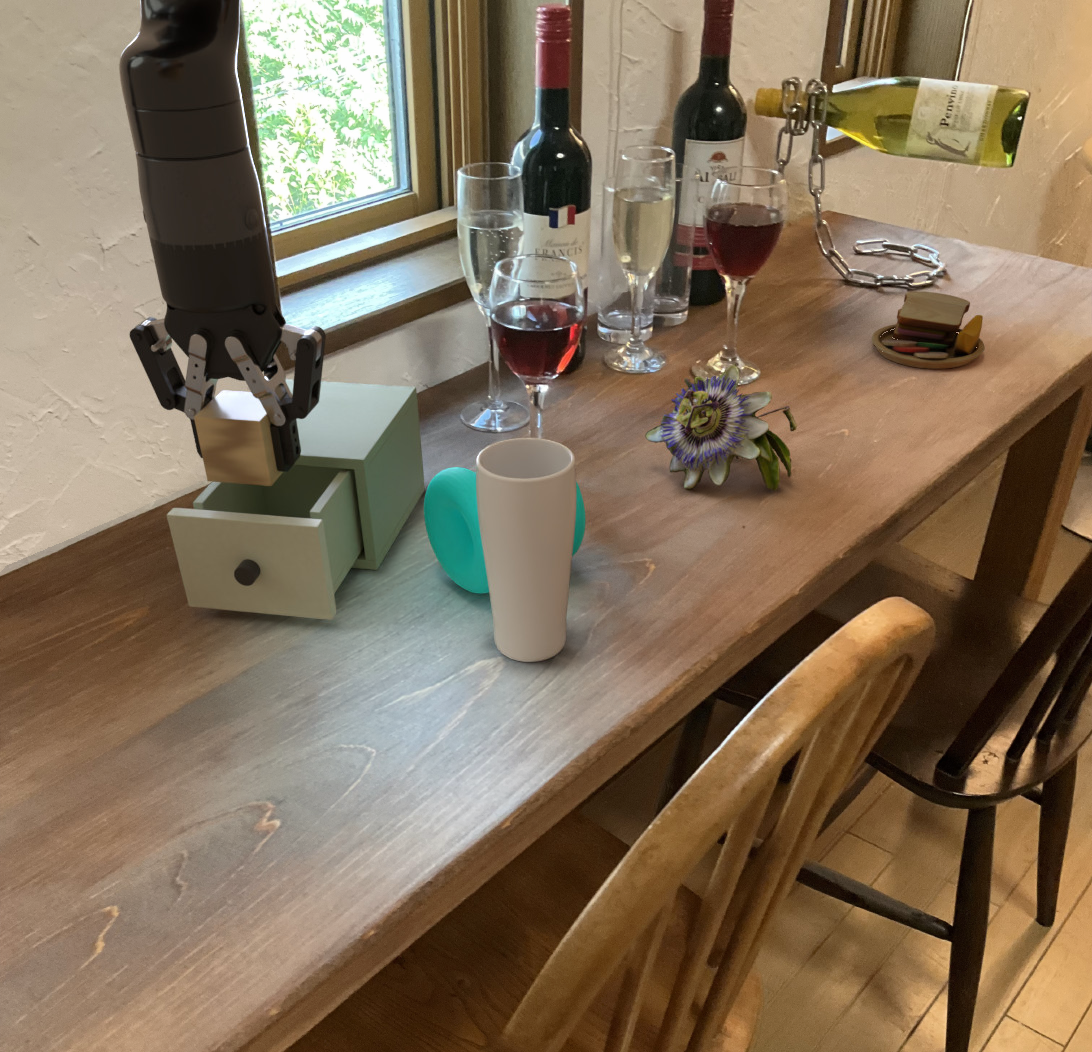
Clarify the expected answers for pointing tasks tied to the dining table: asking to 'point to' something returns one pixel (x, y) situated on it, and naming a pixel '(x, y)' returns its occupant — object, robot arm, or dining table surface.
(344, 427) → the cabinet
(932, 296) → the toy sandwich meal
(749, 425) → the passion flower
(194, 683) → the dining table surface
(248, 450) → the block
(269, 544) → the drawer
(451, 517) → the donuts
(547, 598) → the drinking glass
